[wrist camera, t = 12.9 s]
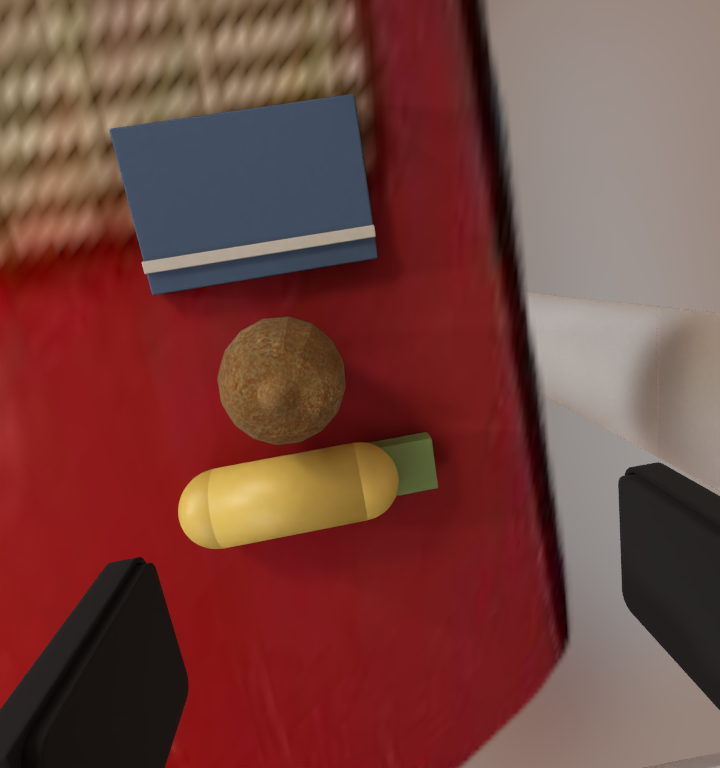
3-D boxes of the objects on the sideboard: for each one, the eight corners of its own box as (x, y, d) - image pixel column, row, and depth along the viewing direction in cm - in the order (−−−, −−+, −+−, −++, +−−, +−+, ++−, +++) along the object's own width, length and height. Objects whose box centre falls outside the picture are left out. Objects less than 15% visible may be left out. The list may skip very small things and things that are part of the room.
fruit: (216, 327, 27) (178, 351, 19) (323, 296, 27) (328, 306, 20) (252, 429, 29) (231, 488, 21) (354, 398, 29) (369, 445, 21)
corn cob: (423, 418, 30) (442, 444, 25) (432, 484, 31) (451, 519, 26) (181, 463, 29) (158, 497, 24) (198, 529, 30) (179, 572, 26)
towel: (352, 101, 25) (354, 90, 24) (375, 258, 27) (379, 258, 26) (118, 135, 24) (105, 126, 23) (159, 294, 26) (150, 295, 25)
